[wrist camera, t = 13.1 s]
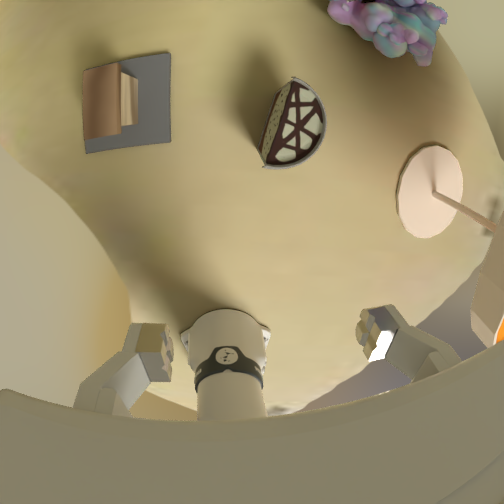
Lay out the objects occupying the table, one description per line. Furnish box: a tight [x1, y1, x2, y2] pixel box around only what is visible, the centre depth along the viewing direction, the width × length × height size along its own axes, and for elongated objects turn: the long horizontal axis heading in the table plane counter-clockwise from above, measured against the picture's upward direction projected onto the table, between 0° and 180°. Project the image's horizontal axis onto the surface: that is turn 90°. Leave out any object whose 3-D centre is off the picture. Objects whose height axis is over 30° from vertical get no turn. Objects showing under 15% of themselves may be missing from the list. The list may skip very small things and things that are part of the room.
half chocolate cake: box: [257, 77, 327, 169], centre depth 33 cm, size 12×6×10 cm, turn 163°
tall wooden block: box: [83, 63, 138, 140], centre depth 28 cm, size 5×9×9 cm, turn 179°
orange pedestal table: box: [396, 145, 504, 348], centre depth 31 cm, size 30×30×31 cm
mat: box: [84, 53, 171, 154], centre depth 32 cm, size 14×14×1 cm
